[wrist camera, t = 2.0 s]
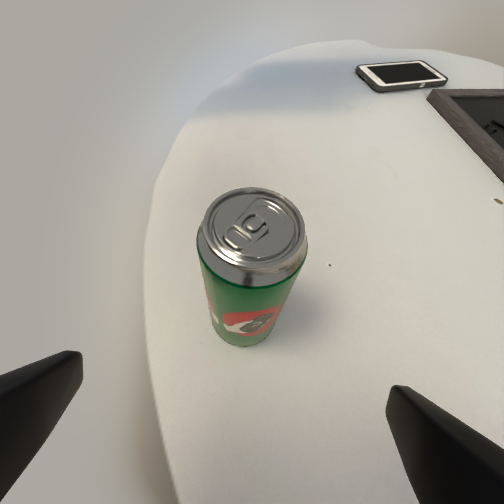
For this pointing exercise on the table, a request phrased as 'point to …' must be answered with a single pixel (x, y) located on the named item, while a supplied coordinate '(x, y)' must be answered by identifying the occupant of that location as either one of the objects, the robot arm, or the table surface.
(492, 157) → the picture frame
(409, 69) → the cell phone
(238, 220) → the soda can
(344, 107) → the table surface
